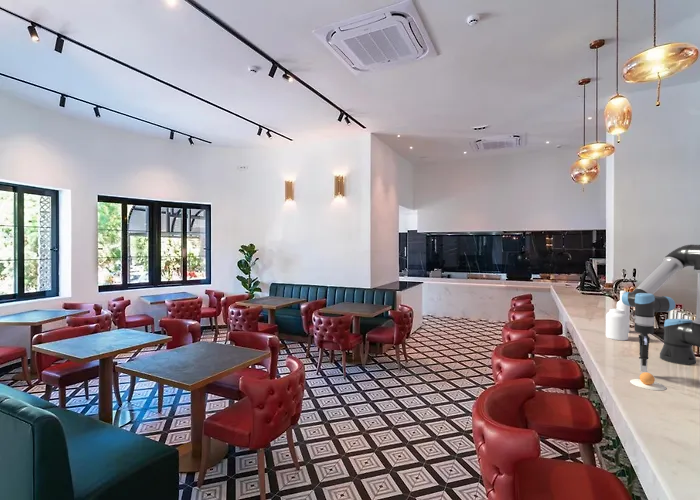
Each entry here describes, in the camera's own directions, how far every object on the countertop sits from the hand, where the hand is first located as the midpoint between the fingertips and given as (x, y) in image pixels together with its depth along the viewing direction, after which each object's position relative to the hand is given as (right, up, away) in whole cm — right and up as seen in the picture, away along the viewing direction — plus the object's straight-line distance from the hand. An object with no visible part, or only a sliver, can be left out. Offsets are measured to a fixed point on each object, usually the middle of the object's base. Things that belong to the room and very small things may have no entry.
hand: (643, 371), depth 181 cm
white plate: (-8, -2, -12) cm, 14 cm away
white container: (+36, 0, +67) cm, 76 cm away
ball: (-8, 0, -11) cm, 14 cm away
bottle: (+53, +1, +85) cm, 100 cm away
